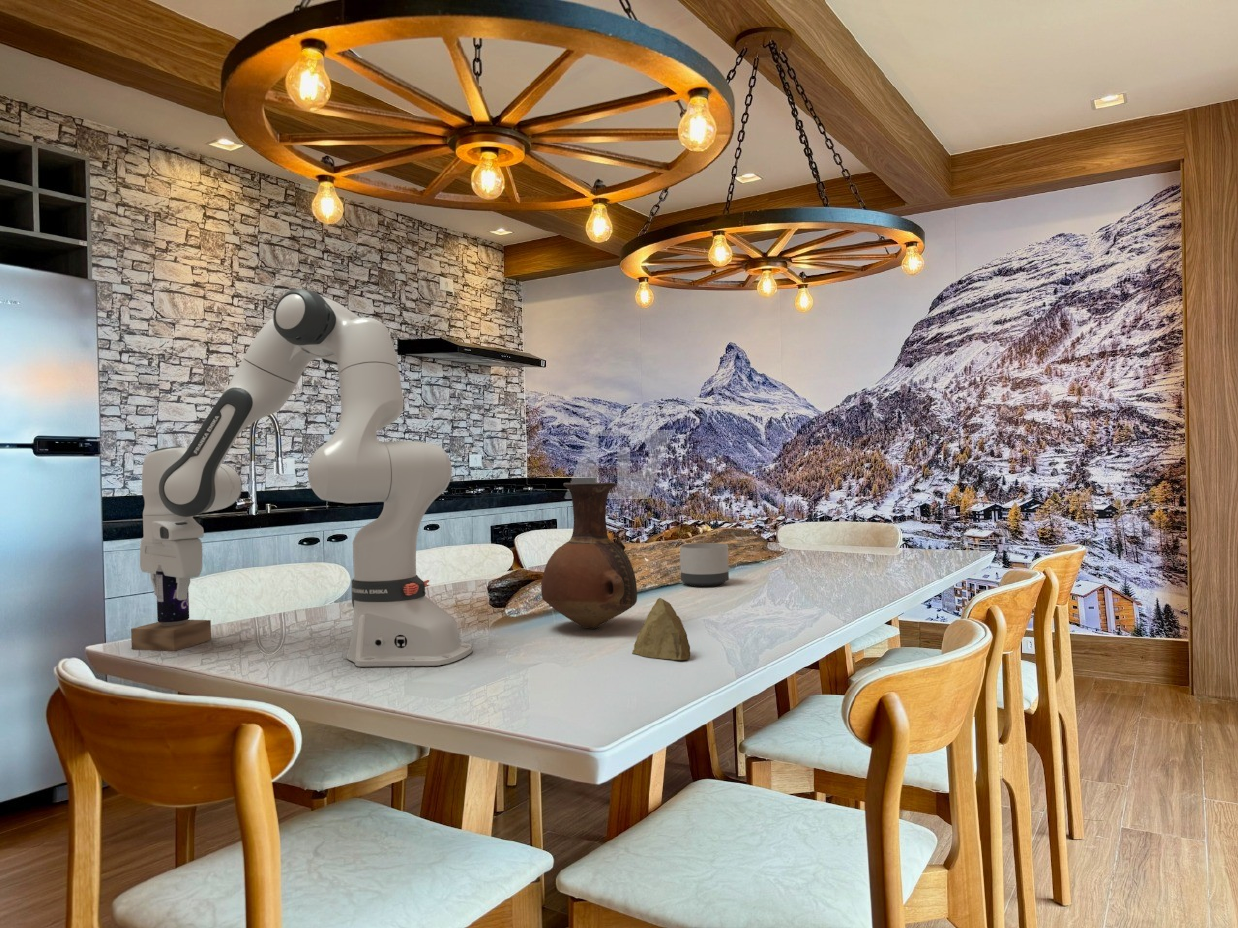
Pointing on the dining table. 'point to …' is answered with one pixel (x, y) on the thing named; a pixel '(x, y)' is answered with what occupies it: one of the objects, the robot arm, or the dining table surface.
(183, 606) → the beverage can
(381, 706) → the dining table surface
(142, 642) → the walnut block
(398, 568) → the robot arm
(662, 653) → the rock
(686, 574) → the planter
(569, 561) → the vase
